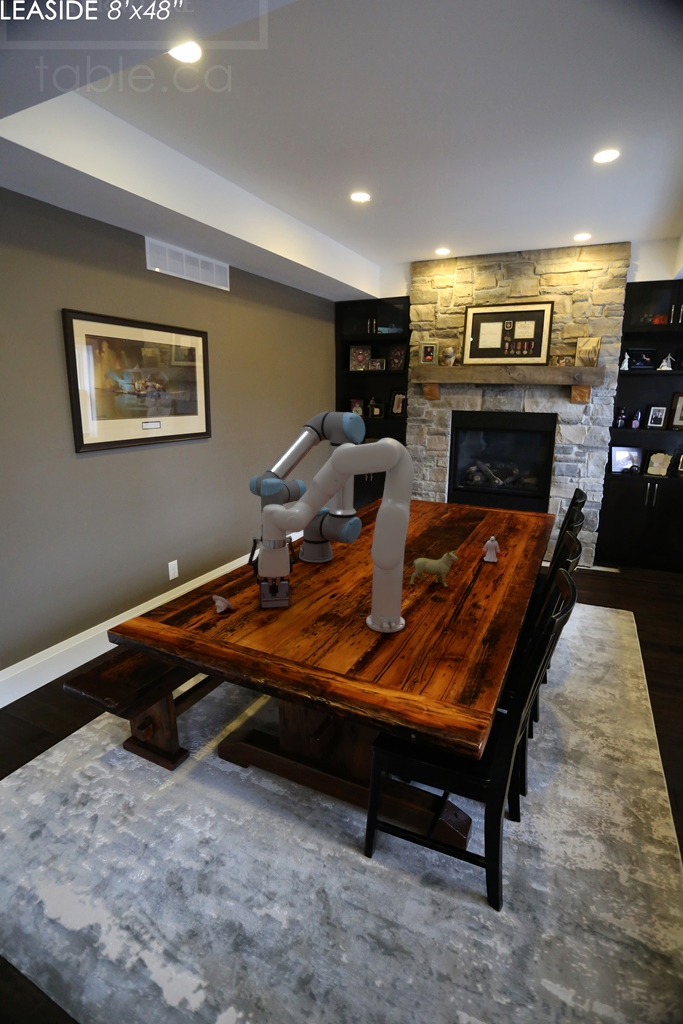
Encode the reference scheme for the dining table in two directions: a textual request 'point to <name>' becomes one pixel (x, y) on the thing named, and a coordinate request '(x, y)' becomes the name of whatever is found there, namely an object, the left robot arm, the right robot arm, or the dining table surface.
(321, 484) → the right robot arm
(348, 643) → the dining table surface
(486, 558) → the figurine
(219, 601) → the seashell
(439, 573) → the toy
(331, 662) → the dining table surface
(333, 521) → the left robot arm
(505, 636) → the dining table surface
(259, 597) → the cabinet
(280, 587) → the drawer
